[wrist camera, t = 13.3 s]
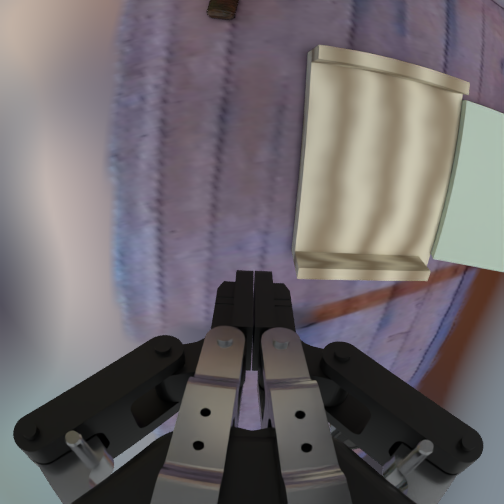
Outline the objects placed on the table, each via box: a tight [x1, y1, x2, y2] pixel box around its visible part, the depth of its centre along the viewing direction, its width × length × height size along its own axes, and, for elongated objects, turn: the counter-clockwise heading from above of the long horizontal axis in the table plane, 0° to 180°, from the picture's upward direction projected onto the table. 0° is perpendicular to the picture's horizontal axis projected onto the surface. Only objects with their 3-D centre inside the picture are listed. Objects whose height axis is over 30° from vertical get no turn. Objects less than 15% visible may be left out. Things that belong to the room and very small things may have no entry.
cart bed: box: [292, 45, 470, 281], centre depth 34 cm, size 20×26×7 cm
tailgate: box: [431, 100, 504, 272], centre depth 33 cm, size 2×22×14 cm
